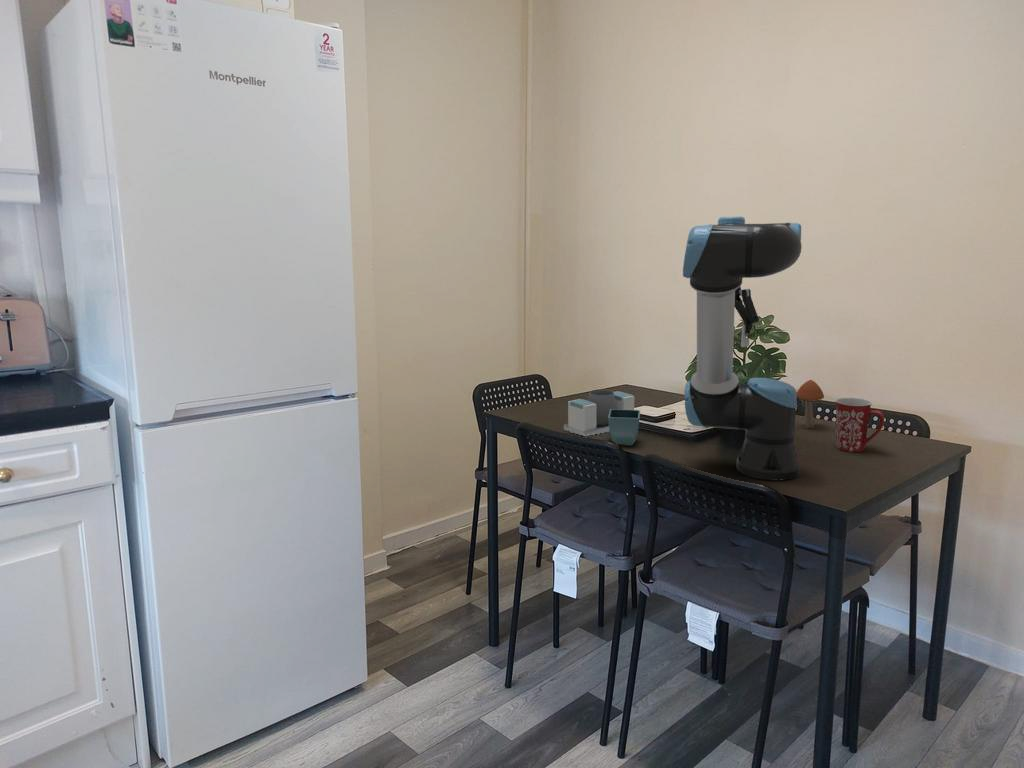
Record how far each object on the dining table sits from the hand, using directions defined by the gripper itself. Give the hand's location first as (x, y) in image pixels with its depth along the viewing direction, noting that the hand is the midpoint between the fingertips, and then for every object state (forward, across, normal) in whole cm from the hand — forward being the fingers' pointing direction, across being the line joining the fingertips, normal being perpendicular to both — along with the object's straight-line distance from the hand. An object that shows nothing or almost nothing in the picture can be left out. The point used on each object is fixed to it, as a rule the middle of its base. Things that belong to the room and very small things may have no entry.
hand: (725, 343), depth 210 cm
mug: (+27, -35, -13) cm, 46 cm away
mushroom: (+27, -15, -21) cm, 37 cm away
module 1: (+25, +25, +34) cm, 50 cm away
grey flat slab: (+26, +25, +26) cm, 45 cm away
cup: (+26, +25, +26) cm, 45 cm away
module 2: (+25, +25, +19) cm, 40 cm away
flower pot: (+27, +9, +32) cm, 43 cm away
